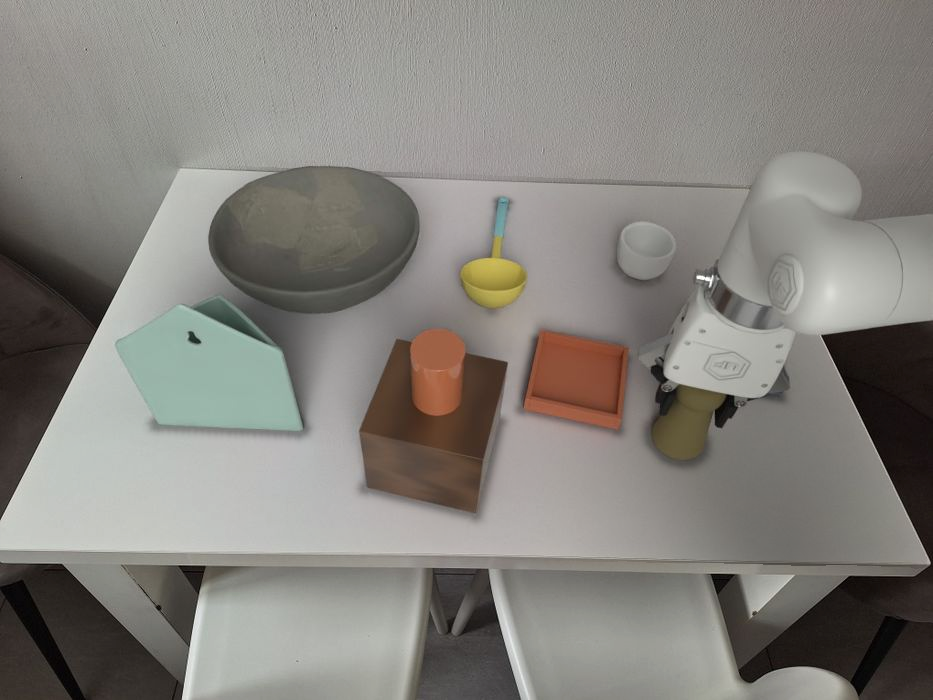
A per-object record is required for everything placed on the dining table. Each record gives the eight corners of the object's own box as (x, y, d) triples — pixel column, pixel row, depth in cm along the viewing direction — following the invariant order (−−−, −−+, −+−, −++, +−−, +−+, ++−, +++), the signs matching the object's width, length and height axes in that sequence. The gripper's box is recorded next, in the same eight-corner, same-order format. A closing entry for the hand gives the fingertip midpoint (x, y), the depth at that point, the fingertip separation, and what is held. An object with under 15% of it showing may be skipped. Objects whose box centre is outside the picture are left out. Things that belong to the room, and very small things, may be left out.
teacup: (670, 289, 91) (681, 260, 87) (616, 286, 91) (625, 257, 87) (657, 242, 98) (667, 213, 94) (606, 239, 98) (614, 210, 93)
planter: (315, 376, 79) (288, 252, 64) (303, 431, 74) (270, 311, 59) (178, 369, 78) (119, 243, 63) (157, 425, 73) (86, 302, 58)
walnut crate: (499, 421, 76) (508, 361, 67) (476, 513, 68) (483, 460, 60) (400, 399, 77) (396, 338, 69) (366, 487, 70) (358, 431, 61)
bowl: (204, 348, 81) (181, 291, 73) (247, 213, 98) (231, 155, 90) (417, 352, 82) (415, 296, 74) (422, 218, 99) (422, 161, 91)
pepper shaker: (711, 430, 76) (743, 371, 68) (694, 469, 73) (725, 411, 64) (662, 408, 78) (687, 347, 70) (643, 444, 75) (666, 385, 66)
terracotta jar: (467, 380, 66) (471, 334, 60) (455, 420, 62) (458, 376, 57) (419, 370, 66) (418, 323, 61) (405, 409, 63) (403, 364, 58)
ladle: (455, 318, 85) (456, 279, 81) (475, 227, 106) (476, 193, 102) (523, 324, 84) (527, 285, 81) (529, 231, 105) (532, 197, 102)
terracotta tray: (625, 358, 83) (629, 347, 81) (617, 430, 76) (622, 419, 74) (538, 340, 84) (540, 329, 83) (523, 409, 77) (525, 398, 75)
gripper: (652, 301, 56) (608, 422, 69) (862, 342, 54) (773, 457, 67) (656, 246, 60) (614, 369, 74) (848, 281, 58) (768, 401, 72)
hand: (690, 410), depth 71 cm, fingers closed on pepper shaker, 5 cm apart
